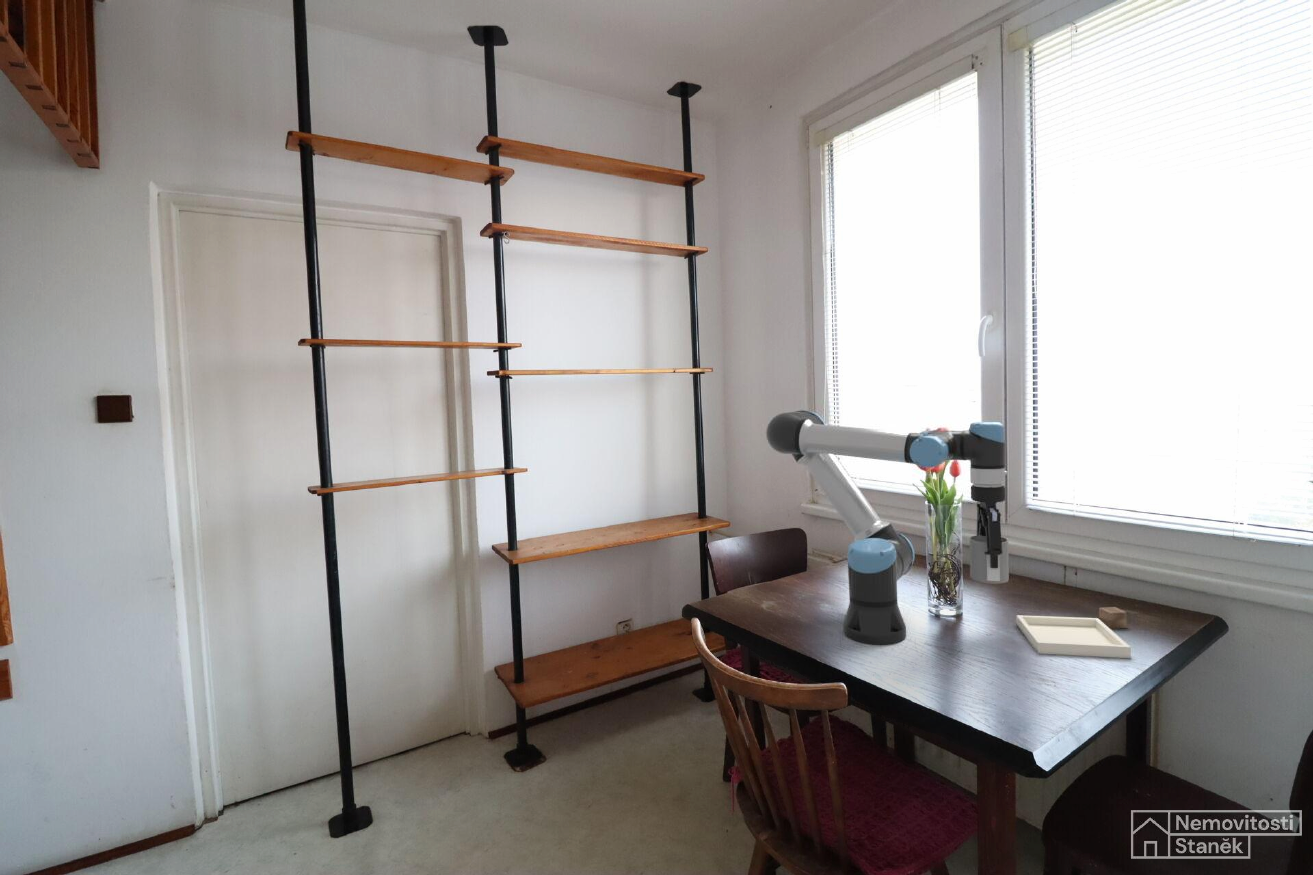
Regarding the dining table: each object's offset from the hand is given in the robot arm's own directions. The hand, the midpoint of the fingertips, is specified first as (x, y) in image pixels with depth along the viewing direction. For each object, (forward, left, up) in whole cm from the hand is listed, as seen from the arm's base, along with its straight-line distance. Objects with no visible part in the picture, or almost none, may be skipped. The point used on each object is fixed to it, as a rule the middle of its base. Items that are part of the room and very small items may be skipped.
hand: (989, 574), depth 154 cm
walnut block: (+29, +9, -15) cm, 34 cm away
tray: (+16, -3, -15) cm, 22 cm away
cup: (0, 0, -1) cm, 1 cm away
